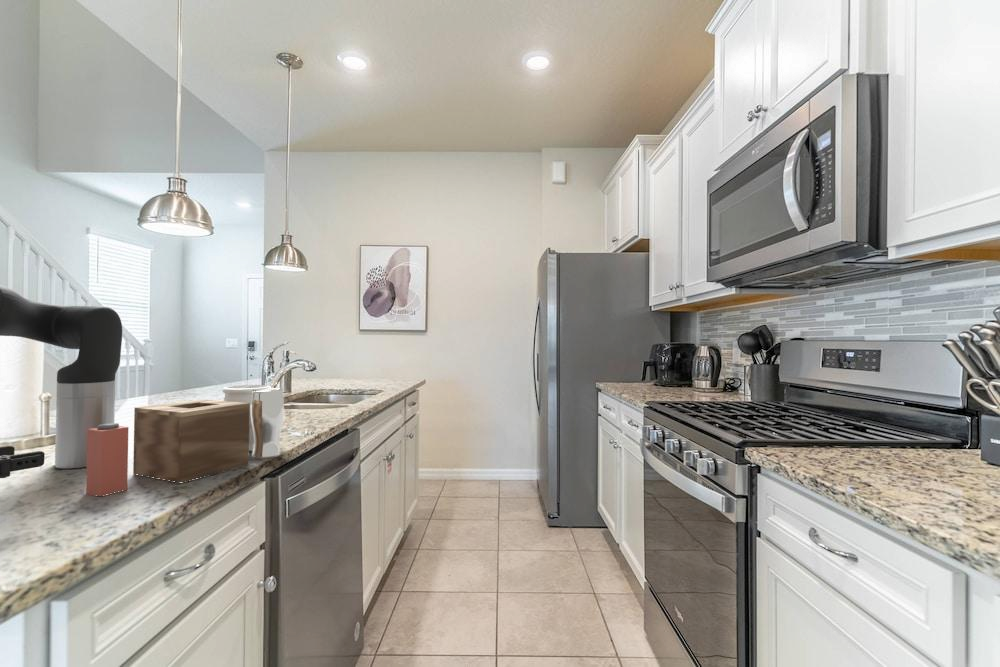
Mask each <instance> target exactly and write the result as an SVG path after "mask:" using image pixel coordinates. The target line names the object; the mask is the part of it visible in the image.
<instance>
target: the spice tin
mask: <svg viewBox="0 0 1000 667" xmlns="http://www.w3.org/2000/svg"><path fill="white" fill-rule="evenodd" d="M128 465H129V426H123V425H120V424H119V423H118V422H114V423H109V424H101V425H98V428H93V429H88V432H87V467H86V478H85V479H86V482H85V483H86V485H85V486H86V487H85V494H86V493H87V494H86V495H88V494H91V495H90V496H92V495H97V496H103V495H106V494H110V493H114V492H118V491H122V490H126V491H128V477H129V476H128V468H129V466H128ZM122 492H123V491H122ZM118 493H119V492H118ZM97 496H96V497H97ZM103 497H104V496H103Z"/></svg>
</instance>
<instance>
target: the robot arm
mask: <svg viewBox="0 0 1000 667" xmlns="http://www.w3.org/2000/svg"><path fill="white" fill-rule="evenodd" d="M2 336H4V337H18V338H25V339H27V340H28V339H29V340H33V341H36V342H41V343H44V344H48V345H53V346H55V347H59V348H63V349H69V350H78V355H77V358H76V359H75V360H74V361H73V362H72V363H70V364H69V365H65V366H63V367H61V368H60V369H59V368H58V370H57V373H56V395H55V396H56V404H55V405H56V406H55V407H56V409H55V412H56V413H55V417H56V418H55V441H54V442H55V443H54V445H55V448H54V450H55V451H54V468H57V469H80V468H87V432H88V429H93V428H98V425H101V424H109V423H115V418H116V417H115V415H116V414H115V411H116V409H115V408H116V406H115V405H116V374H117V371H118V369H119V367H120V364H121V354H122V340H123V325H122V320H121V317H120V315H119V314H118V312H117V311H115V310H114V309H113V308H111V307H108V306H103V305H61V304H60V305H59V304H52V303H50V304H49V303H45V302H40V301H39V302H38V301H36V300H31V299H28V298H25V297H24V296H21V295H20V294H19V293H18V292H16V291H14V290H13V289H12V288H9V287H7V286H4V285H2V284H0V337H2ZM15 451H16V449H15V447H14V446H12V445H5V446H0V479H7V478H8V477H11V472H16V471H17V472H18V471H22V470H28V469H35V468H39V467H42V466H43V465H44V464H45V452H44V451H40V450H38V451H37V450H36V451H31V452H30V451H29V452H23V453H16V454H15Z"/></svg>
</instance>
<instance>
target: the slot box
mask: <svg viewBox="0 0 1000 667" xmlns="http://www.w3.org/2000/svg"><path fill="white" fill-rule="evenodd" d="M133 412H134V413H133V414H134V419H133V422H134V424H133V468H132V469H133V472H132V474H138V475H143V476H149V477H154V478H160V479H165V480H170V481H175V482H185V481H189V480H192V479H196V478H200V477H203V478H205V477H204V476H207V477H209V476H208V475H211V476H213V475H212V474H214V475H217V474H216V473H218V474H221V473H224V471H225V472H228V471H232V470H236V469H238V468H242V467H243V468H244V467H245V466H248V465H250V464H249V462H250V459H249V458H250V457H249V455H250V451H249V412H250V403H242V402H230V401H224V400H217V399H215V400H214V399H205V398H204V399H198V400H197V399H196V400H189V401H179V402H171V403H170V402H169V403H165V404H164V403H163V404H156V405H155V404H154V405H145V406H137V407H134V411H133ZM220 472H221V473H220ZM143 476H142V477H143ZM200 479H201V478H200ZM196 480H197V479H196ZM189 482H190V481H189Z"/></svg>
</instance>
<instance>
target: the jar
mask: <svg viewBox="0 0 1000 667" xmlns="http://www.w3.org/2000/svg"><path fill="white" fill-rule="evenodd" d="M266 388H272V386H271V385H265V384H246V385H245V384H244V385H232V386H231V385H230V386H225V387H223V388H222V392H223V394H224V397H223V401H230V402H242V403H250V398H251V390H254V389H266ZM252 449H253V432H252V427H251V421H250V412H249V452H252Z"/></svg>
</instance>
